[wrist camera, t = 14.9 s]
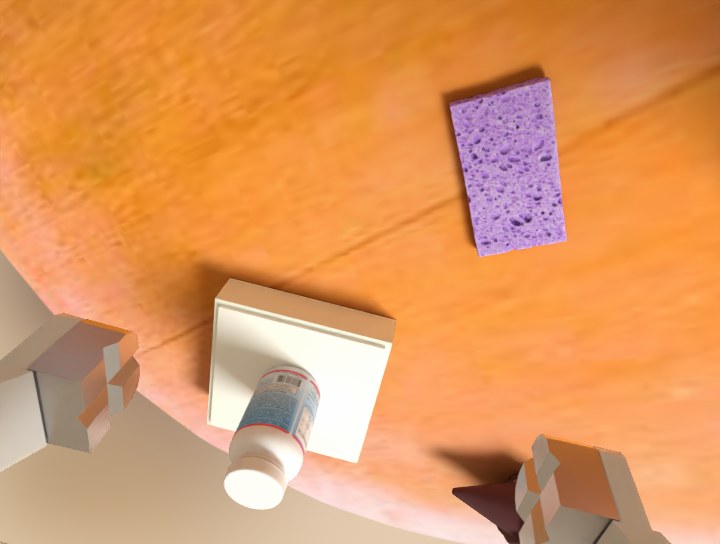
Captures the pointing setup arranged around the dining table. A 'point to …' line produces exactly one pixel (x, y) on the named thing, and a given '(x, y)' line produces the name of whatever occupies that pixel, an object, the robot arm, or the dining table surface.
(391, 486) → the dining table surface
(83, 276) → the dining table surface
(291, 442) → the pill bottle
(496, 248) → the sponges
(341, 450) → the base block
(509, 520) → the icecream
